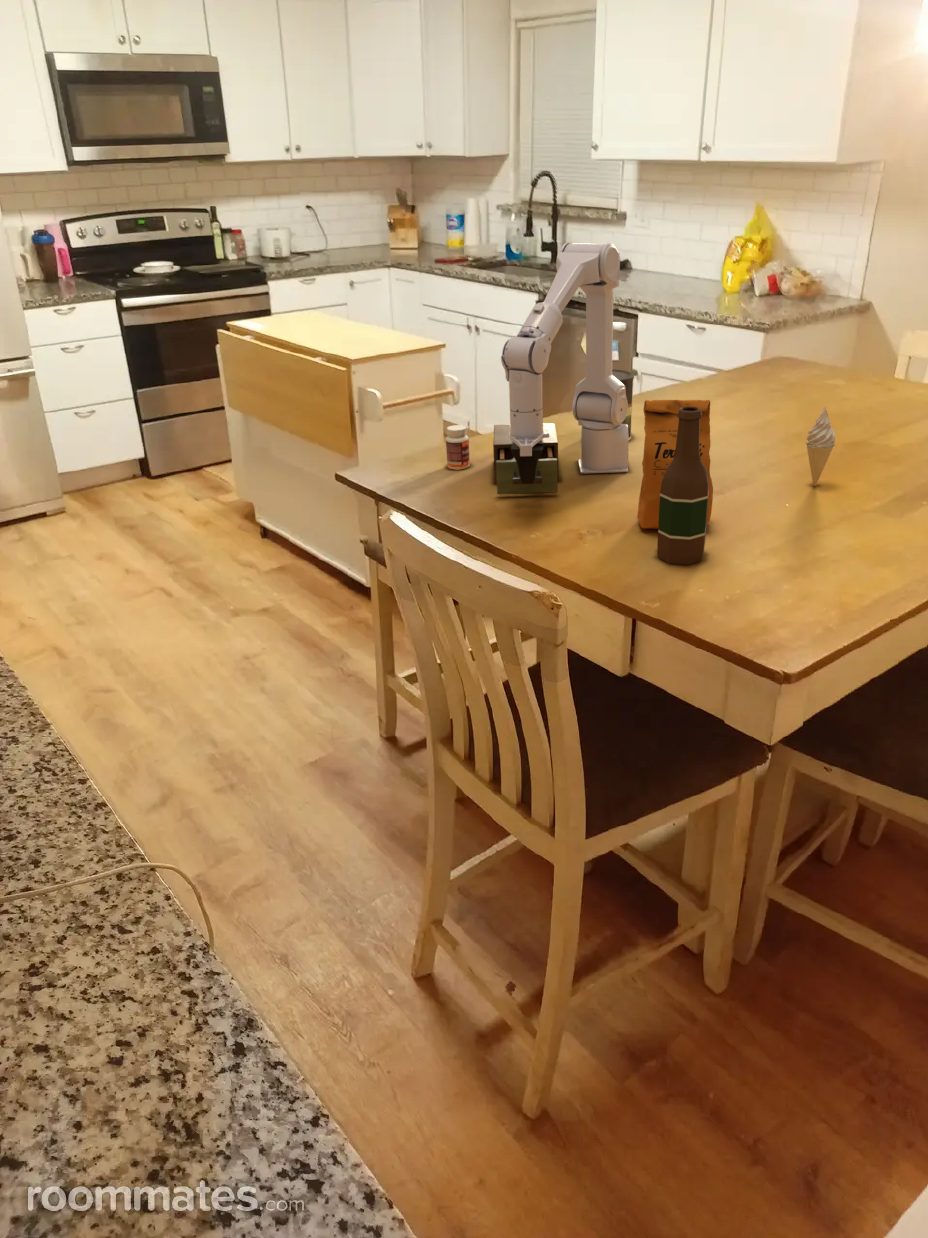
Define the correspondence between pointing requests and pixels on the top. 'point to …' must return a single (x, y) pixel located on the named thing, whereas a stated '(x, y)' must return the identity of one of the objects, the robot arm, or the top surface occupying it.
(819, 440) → the ice cream cone
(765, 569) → the top surface
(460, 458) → the pill bottle
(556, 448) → the cabinet
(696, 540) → the beer bottle
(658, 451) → the coffee package
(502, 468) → the drawer
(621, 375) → the coffee can
